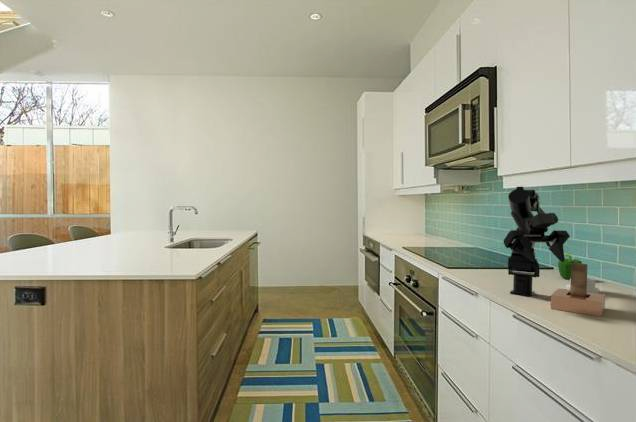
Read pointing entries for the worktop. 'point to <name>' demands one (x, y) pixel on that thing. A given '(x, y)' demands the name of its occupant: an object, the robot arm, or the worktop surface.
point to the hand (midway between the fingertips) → (549, 261)
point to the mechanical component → (590, 286)
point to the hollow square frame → (578, 302)
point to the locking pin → (578, 280)
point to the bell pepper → (566, 267)
